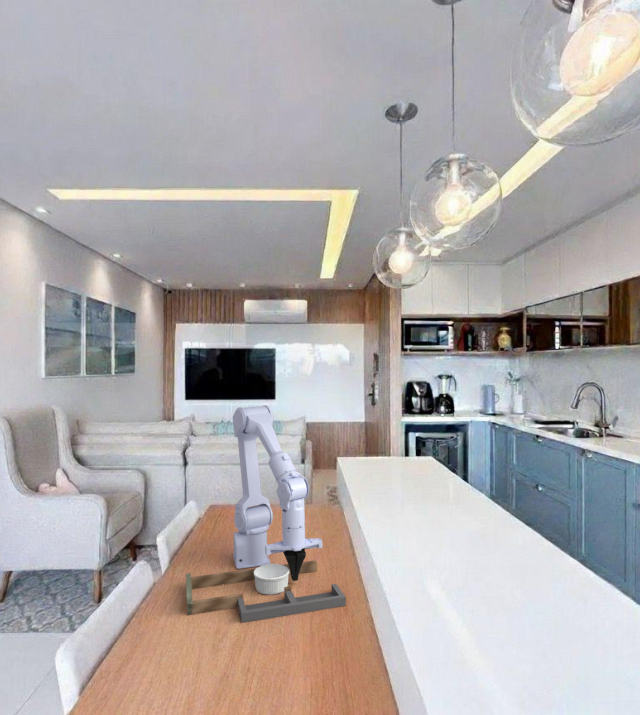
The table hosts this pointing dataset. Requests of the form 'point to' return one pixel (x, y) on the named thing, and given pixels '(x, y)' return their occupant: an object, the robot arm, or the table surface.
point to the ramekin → (271, 578)
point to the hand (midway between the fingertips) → (294, 579)
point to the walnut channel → (226, 578)
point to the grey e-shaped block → (291, 605)
